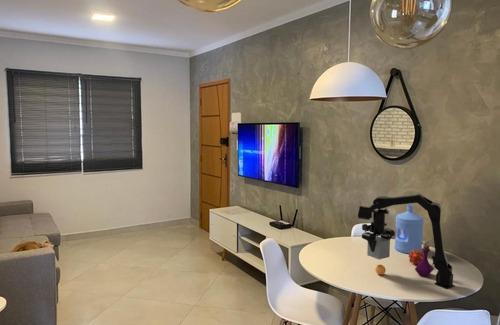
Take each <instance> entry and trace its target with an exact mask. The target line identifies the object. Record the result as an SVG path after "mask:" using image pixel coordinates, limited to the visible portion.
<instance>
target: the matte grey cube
mask: <svg viewBox="0 0 500 325" xmlns="http://www.w3.org/2000/svg"><path fill="white" fill-rule="evenodd" d="M375 240H377V242H376V245H375V249H374V252H371V249H370V246H369V243H368V242H367V252H366V254H367V255H366V256H368V257H371V258H374V259H377V260H383V259H386V258H390V253H391V251H390V250H391V239H390V240H388V239H384V238H381V236H377V237H376V239H375Z"/></svg>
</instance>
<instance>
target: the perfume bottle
mask: <svg viewBox="0 0 500 325" xmlns="http://www.w3.org/2000/svg"><path fill="white" fill-rule="evenodd" d="M428 244H429V241H427V240H422V252H423V258H422V261H421V262H420V263H419V264H418V266H416V267H415V268H414V270H415V272H416V273H417V274H418V275H419V276H421V277H429V276H430V275H431V273H432V272H433V271H434V269H435V267H433V265H431V264H430V262H429V258H428V255H429V252H431V249H430V245H428Z"/></svg>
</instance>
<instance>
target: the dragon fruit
mask: <svg viewBox="0 0 500 325" xmlns="http://www.w3.org/2000/svg"><path fill="white" fill-rule="evenodd" d="M423 255H424V252H423V251H421V252H420V251H419V250H413V251H411V252H410V254H408V258H409V259H408V260H409V262H410V263H413V265H415V266H416V267H417V266H418V264H419V263H420V262H421V261H422V258H423Z"/></svg>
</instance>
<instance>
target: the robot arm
mask: <svg viewBox="0 0 500 325" xmlns="http://www.w3.org/2000/svg"><path fill="white" fill-rule="evenodd" d="M411 204H418V205H419V206H420V207H421V208H423V210H425V211H427V214H428V217H429V219H430V220H429V221H430V222H431V226H432V228H431V229H432V235H433V243H434V251H435V252H432V253H431V259H432V266H434V267H433V268H434V269H436V270H437V271H436V275H435V282H434V285H437V286H439V287H441V288H443V289H447V290H448V289H450V288H454V287H455V284H454V274H453V266H452V265H451V264H450V263H449V261H448V257H447V255H446V251H445V249H444V243H443V242H444V241H443V233H442V225H441V216H442V205H441V204H440V203H439V202H434V201H432V200H431V199H429V198H427V197H425V196H424V195H423V194H421V193H417V194H409V195H402V196H401V195H400V196H383V195H378V196H377V197H376V198H374V199H373V201H372V205H370V206H364V205H359V206H358V207H359V209H358V212H357V219H359V220H365V221H370V220H371V219H372V222H370V224H368V223H363V224H361V229H362V231H364V232H363V233H361V239H363V240H364V241H366V242H367V244H368V243H369V246H370V249H371V252H374V249H375V245H376V242H377V240H375V239H376V237H381V238H384V239H388V240H390V241H391V239H393V237H396V232H395V230H394V229H392V228H386V226H387V224H388V223H386V215H389V213H390V210H388V209H387V208H389V207H391V206H392V207H393V206H398V205H411Z"/></svg>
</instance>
